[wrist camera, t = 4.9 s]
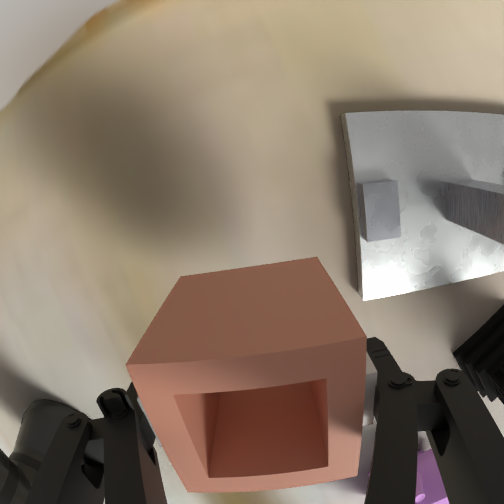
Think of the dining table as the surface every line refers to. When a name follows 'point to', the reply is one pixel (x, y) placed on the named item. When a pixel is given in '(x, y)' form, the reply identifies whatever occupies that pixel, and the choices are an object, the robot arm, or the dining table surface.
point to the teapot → (429, 480)
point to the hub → (255, 378)
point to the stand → (425, 197)
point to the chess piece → (485, 357)
